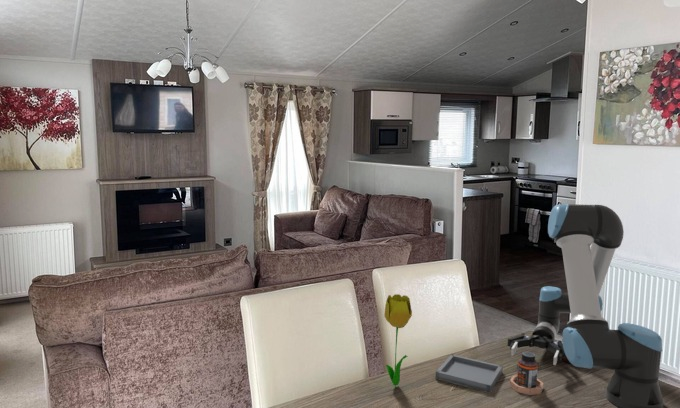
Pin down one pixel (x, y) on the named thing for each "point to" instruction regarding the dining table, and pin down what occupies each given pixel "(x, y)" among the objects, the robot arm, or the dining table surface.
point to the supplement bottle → (527, 370)
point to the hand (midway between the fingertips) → (533, 356)
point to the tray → (469, 373)
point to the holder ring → (523, 389)
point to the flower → (397, 325)
